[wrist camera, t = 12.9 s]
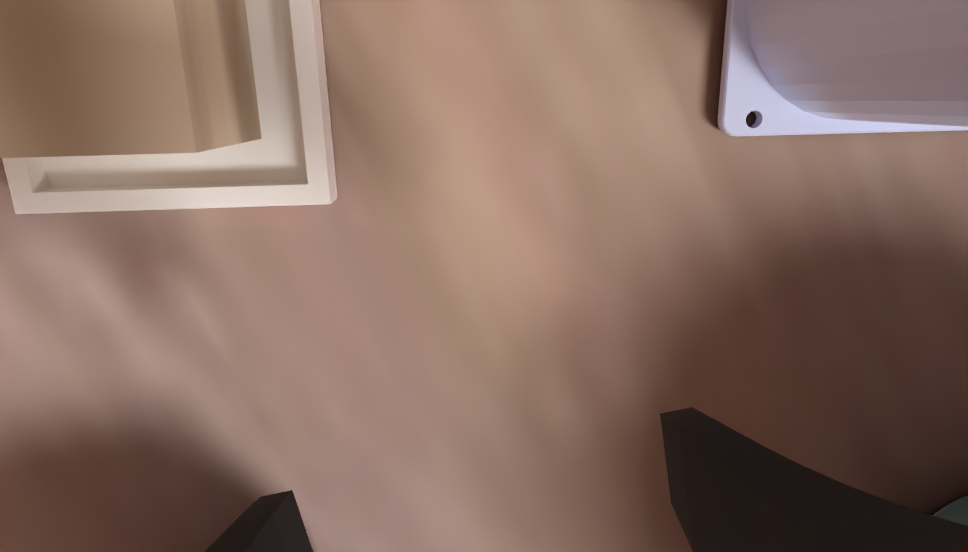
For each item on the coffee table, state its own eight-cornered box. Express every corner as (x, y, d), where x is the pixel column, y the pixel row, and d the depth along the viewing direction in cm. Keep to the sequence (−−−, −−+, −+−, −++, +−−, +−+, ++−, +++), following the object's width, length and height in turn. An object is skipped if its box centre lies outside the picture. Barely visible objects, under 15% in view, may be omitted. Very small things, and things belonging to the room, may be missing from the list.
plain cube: (239, -47, 17) (156, -106, 12) (261, 138, 18) (196, 152, 13) (51, -46, 16) (-110, -105, 12) (89, 143, 18) (-41, 159, 13)
